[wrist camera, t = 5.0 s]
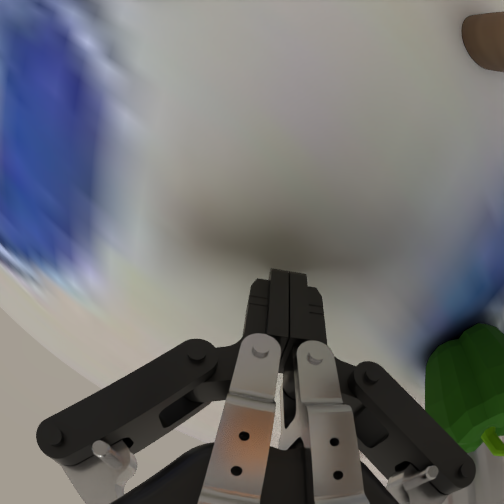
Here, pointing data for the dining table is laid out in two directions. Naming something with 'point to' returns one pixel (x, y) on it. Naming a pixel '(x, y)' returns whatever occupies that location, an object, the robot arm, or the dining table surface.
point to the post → (485, 39)
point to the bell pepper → (469, 388)
